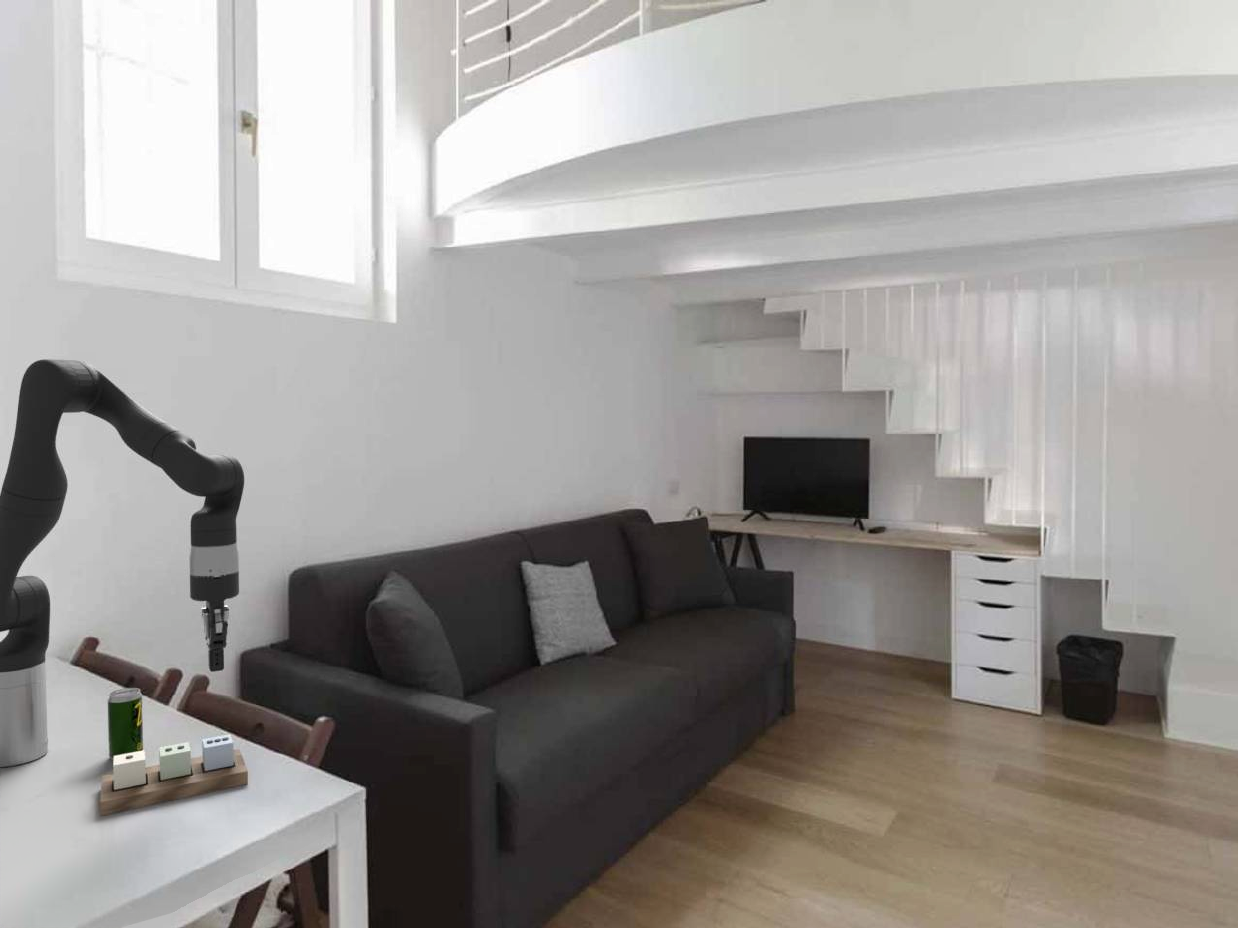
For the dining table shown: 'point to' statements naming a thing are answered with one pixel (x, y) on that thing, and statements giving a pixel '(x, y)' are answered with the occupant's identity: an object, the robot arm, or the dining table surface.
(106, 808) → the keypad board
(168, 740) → the dining table surface
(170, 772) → the two dot key
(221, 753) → the three dot key
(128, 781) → the one dot key
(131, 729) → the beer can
